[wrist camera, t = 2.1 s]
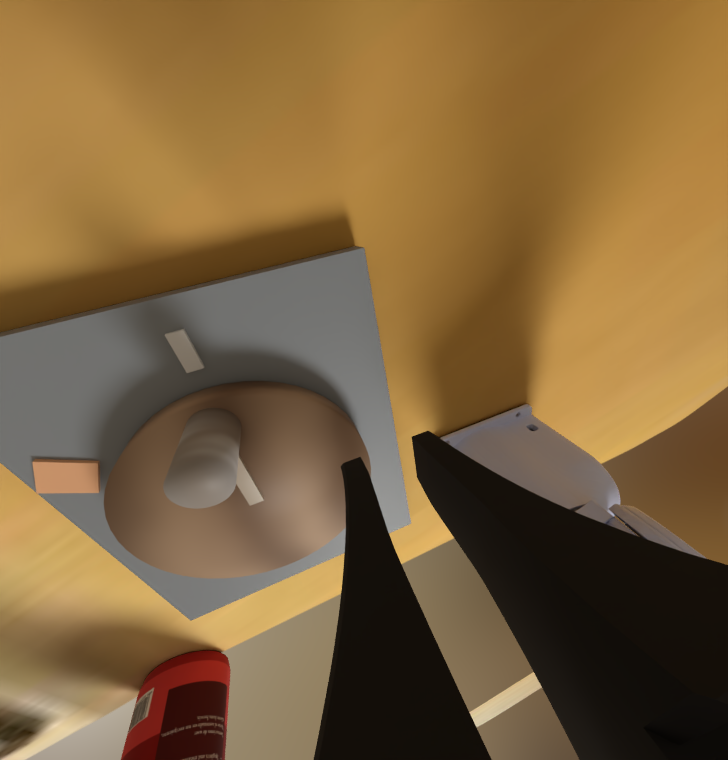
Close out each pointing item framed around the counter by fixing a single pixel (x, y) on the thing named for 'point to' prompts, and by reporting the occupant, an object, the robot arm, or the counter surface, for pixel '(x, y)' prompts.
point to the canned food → (182, 710)
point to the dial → (233, 480)
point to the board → (188, 375)
